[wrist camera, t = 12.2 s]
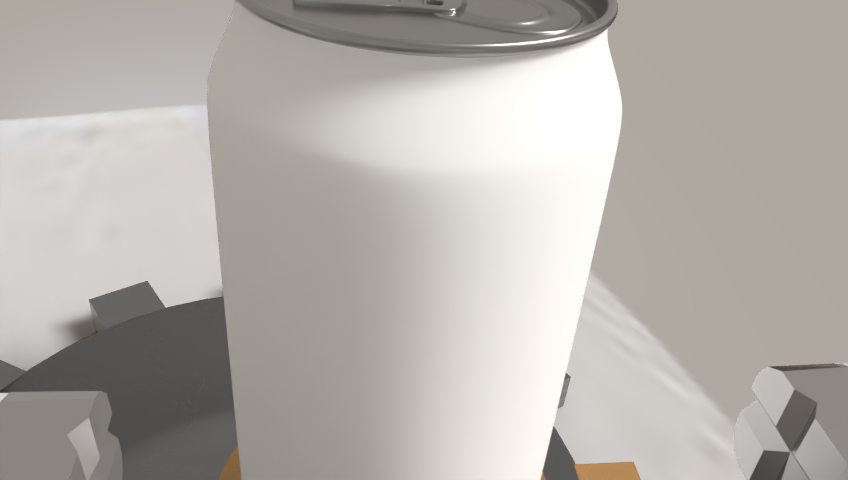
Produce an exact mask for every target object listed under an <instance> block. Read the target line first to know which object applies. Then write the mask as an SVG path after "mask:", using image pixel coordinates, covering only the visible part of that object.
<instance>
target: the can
mask: <svg viewBox="0 0 848 480" xmlns="http://www.w3.org/2000/svg"><path fill="white" fill-rule="evenodd" d="M617 12H618V3H617V0H234V7H233V12H232V15H231V18H230V20H229V23H228V25H227V28H226V30H225V33H224V35H223V37H222V40H221V42H220V44H219V47H218V49H217V51H216V54H215V56H214V59H213V62H212V65H211V68H210V72H209V76H208V83H207V84H208V85H207V109H208V126H209V140H210V152H211V164H212V176H213V187H214V199H215V209H216V220H217V231H218V242H219V253H220V264H221V275H222V285H223V296H224V306H225V317H226V328H227V338H228V349H229V359H230V369H231V380H232V390H233V400H234V410H235V421H236V431H237V440H238V450H239V460H240V470H241V479H242V480H541V475H542V471H543V467H544V463H545V459H546V454H547V450H548V446H549V442H550V438H551V433H552V429H553V425H554V421H555V416H556V412H557V408H558V404H559V399H560V395H561V391H562V387H563V382H564V378H565V374H566V370H567V365H568V361H569V357H570V352H571V348H572V344H573V340H574V335H575V331H576V327H577V322H578V318H579V314H580V309H581V305H582V301H583V297H584V292H585V288H586V284H587V279H588V275H589V270H590V266H591V261H592V257H593V253H594V249H595V244H596V240H597V235H598V230H599V227H600V222H601V218H602V214H603V209H604V204H605V200H606V196H607V191H608V186H609V182H610V178H611V173H612V169H613V164H614V159H615V154H616V149H617V144H618V139H619V134H620V127H621V118H622V102H621V95H620V90H619V85H618V81H617V77H616V73H615V69H614V66H613V62H612V58H611V54H610V51H609V46H608V40H607V31H608V27H609V26H610V25H611V24H612V23H613V21H614V20H615V18H616V15H617Z"/></svg>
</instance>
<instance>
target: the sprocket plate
mask: <svg viewBox="0 0 848 480" xmlns="http://www.w3.org/2000/svg"><path fill="white" fill-rule="evenodd" d="M89 303H90V307H91V312H92V316H93V320H94V325H95V329H96V331H97V333H95V334H93V335H91V336H89V337H87V338H85V339H83V340H81V341H79V342H76V343H74V344H72V345H70V346H68V347H66V348H64V349H63V350H61V351H59V352H58V353H56V354H54V355H53V356H51V357H49V358H48V359H46V360H44V361H43V362H41V363H39V364H38V365H36V366H34V367H32V368H31V369H29V370H28V371H27V372H26V371H24V370H22V369H20V368H17V367H15V366H13V365H10V364H8V363H6V362H4V361H1V360H0V393H10V392H53V391H102V392H105V393H107V396H108V400H109V403H110V407H111V410H112V416H111V420H110V423H109V427H108V432H110V433H111V434H113V435H114V436H115V437H117V438H118V439H119V443H120V448H121V452H122V465H123V477H122V480H242V479H241V470H240V460H239V450H238V440H237V431H236V421H235V410H234V400H233V390H232V380H231V369H230V359H229V349H228V338H227V328H226V317H225V306H224V297H218V298H210V299H204V300H199V301H195V302H190V303H185V304H181V305H176V306H171V307H168V308H165V306H164V305H163V303H162V302H161V300H160V299H159V297H158V296H157V294H156V293H155V292H154V290H153V289H152V287H151V286H150V284H149V283H148V281H145V282H142V283H139V284H136V285H133V286H130V287H127V288H124V289H121V290H117V291H114V292H111V293H108V294H105V295H102V296H99V297H96V298H93V299H89ZM570 378H571V377H570V376H569V375H568V374H567V373H566V374H565V378H564V382H563V387H562V391H561V395H560V399H559V404H558V408H560V407H561V406H563V404H564V400H565V397H566V393H567V389H568V385H569V381H570ZM558 408H557V409H558ZM541 480H641V479H640V477H639V474H638V472H637V469H636V467H635V464H634V462H619V463H597V464H575V462H574V460H573V458H572V456H571V455H570V453H569V451H568V449H567V448H566V446H565V444H564V443H563V441H562V439H561V437H560V436H559V434H558V432H557V430H556V429H555V428H554V426H553V429H552V433H551V438H550V442H549V446H548V450H547V454H546V459H545V463H544V467H543V471H542V475H541Z"/></svg>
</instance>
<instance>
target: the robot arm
mask: <svg viewBox="0 0 848 480" xmlns="http://www.w3.org/2000/svg"><path fill="white" fill-rule="evenodd" d="M752 390H753V392H754V394H755V396H756V398H757V399H756V400H755V401H754V402H752V403H751V404H750V405H749V406H747V407H746V408H745V409H743V410H742V411H741V413H740V415H739V417H738V420H737V422H736V425H735V428H734V451H735V454H736V457H737V461H738V464H739V467H740V468H741V470H742V472H743V474H744V476H745V478H746V480H848V363H840V364H834V363H832V364H810V365H789V366H768V367H766V368H765V369H764V370H762V371H761V372H760V373H759V374H758V375H757V378H756V379H755V382H754V384H753V386H752ZM111 416H112V410H111V407H110V403H109V400H108V396H107V393H105V392H102V391H53V392H10V393H0V480H122V477H123V465H122V452H121V448H120V443H119V439H118V438H117V437H115V436H114V435H113V434H111V433H110V432H108V427H109V423H110V420H111Z"/></svg>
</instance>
